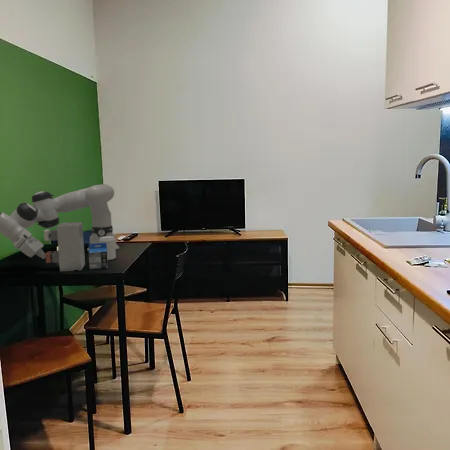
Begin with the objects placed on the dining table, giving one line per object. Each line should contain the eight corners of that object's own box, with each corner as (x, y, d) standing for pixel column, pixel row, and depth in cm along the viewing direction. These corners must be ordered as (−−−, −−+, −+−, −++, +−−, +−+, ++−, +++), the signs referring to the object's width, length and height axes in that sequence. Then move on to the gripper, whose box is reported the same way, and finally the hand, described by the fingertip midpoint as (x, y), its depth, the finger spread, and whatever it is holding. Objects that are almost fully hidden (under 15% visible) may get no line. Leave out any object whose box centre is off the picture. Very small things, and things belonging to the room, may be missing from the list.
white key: (46, 239, 231) (45, 229, 230) (58, 238, 232) (57, 229, 231) (44, 240, 226) (43, 231, 226) (56, 240, 227) (55, 230, 227)
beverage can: (100, 261, 247) (98, 238, 246) (101, 258, 255) (99, 236, 254) (115, 260, 249) (114, 238, 247) (116, 257, 257) (115, 235, 255)
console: (56, 265, 238) (53, 223, 235) (85, 264, 240) (82, 221, 237) (51, 272, 224) (48, 226, 221) (81, 270, 227) (78, 225, 224)
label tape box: (89, 269, 228) (87, 245, 226) (89, 267, 232) (88, 243, 230) (107, 268, 230) (106, 243, 228) (108, 266, 234) (106, 242, 232)
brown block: (48, 260, 233) (47, 251, 232) (59, 260, 234) (59, 250, 233) (46, 263, 228) (45, 253, 227) (58, 262, 229) (57, 252, 228)
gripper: (23, 240, 237) (45, 258, 240) (12, 247, 217) (36, 266, 220) (32, 231, 237) (53, 249, 240) (22, 237, 217) (45, 256, 220)
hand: (45, 257), depth 230 cm, fingers closed, pressing on brown block
